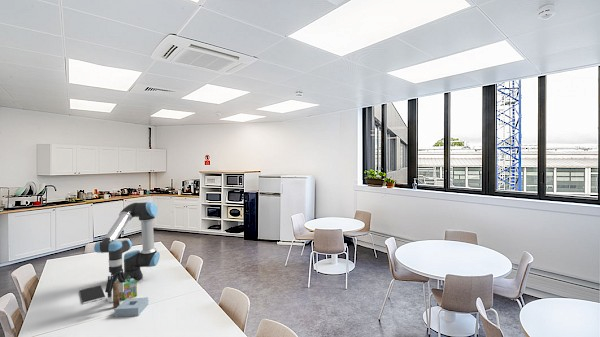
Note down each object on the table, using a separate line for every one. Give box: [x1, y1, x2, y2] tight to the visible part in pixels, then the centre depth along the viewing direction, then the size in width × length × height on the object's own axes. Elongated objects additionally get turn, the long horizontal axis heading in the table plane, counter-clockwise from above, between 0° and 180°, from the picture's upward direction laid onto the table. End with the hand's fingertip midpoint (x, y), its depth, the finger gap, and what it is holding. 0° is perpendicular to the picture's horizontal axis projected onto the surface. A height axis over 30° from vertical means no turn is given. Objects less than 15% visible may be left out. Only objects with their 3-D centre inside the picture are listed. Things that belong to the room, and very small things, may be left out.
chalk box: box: [118, 276, 138, 302], centre depth 204 cm, size 9×9×15 cm
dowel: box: [112, 281, 121, 310], centre depth 189 cm, size 4×4×16 cm
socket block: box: [114, 297, 149, 318], centre depth 184 cm, size 14×14×5 cm
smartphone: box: [79, 285, 106, 305], centre depth 207 cm, size 13×27×2 cm, turn 41°
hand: (116, 296), depth 189 cm, fingers open, 13 cm apart
